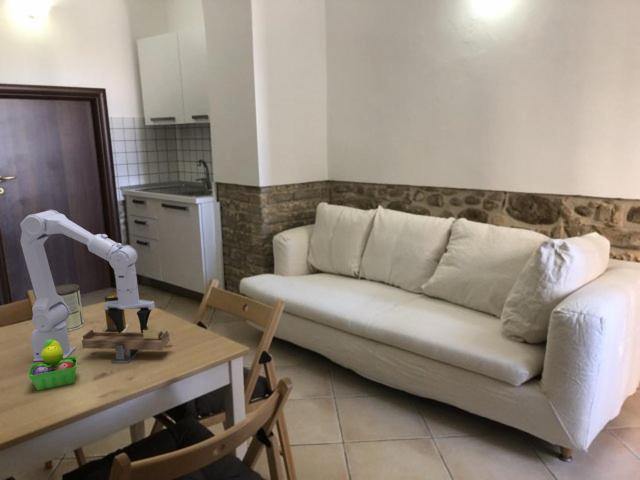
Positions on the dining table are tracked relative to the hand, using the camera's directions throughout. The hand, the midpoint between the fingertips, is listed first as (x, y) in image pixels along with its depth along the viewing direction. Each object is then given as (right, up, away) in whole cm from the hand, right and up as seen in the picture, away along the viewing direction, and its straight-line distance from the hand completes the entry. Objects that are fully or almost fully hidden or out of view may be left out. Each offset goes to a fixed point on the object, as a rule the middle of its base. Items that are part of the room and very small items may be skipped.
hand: (132, 331), depth 149 cm
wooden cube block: (+7, -2, 0) cm, 7 cm away
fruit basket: (-16, -11, -13) cm, 23 cm away
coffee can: (-32, -3, +27) cm, 42 cm away
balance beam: (-2, -4, +1) cm, 5 cm away
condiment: (-14, -4, +22) cm, 27 cm away
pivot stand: (-2, -7, +2) cm, 8 cm away
